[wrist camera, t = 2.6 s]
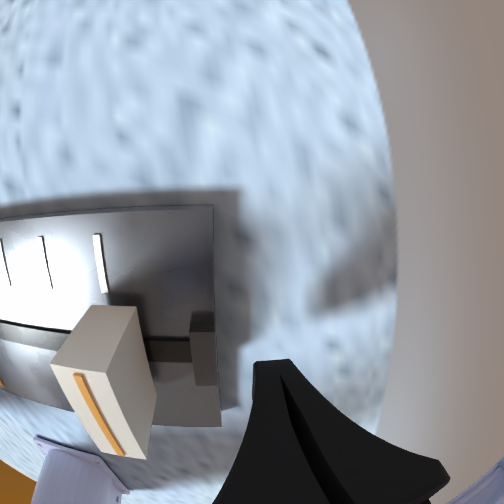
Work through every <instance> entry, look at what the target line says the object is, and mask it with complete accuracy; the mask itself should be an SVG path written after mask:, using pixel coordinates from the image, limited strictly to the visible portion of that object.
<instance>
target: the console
mask: <svg viewBox="0 0 504 504" xmlns="http://www.w3.org/2000/svg"><path fill="white" fill-rule="evenodd" d="M91 305H108V306H134V307H136V308H137V313H138V318H139V324H140V329H141V334H142V338H143V343H144V347H145V352H146V356H147V360H148V364H149V368H150V372H151V376H152V380H153V383H154V387H155V390H156V394H157V398H156V404H155V409H154V415H153V421H152V425H164V426H184V427H222V422H221V408H220V395H219V380H218V365H217V347H216V327H215V302H214V267H213V205H171V206H142V207H121V208H104V209H89V210H76V211H64V212H53V213H43V214H33V215H24V216H16V217H8V218H0V389H3V390H5V391H8V392H10V393H13V394H16V395H18V396H21V397H24V398H27V399H30V400H33V401H36V402H39V403H42V404H46V405H49V406H52V407H56V408H60V409H63V410H67V411H71V412H75V411H74V410H73V408H72V406H71V405H70V403H69V401H68V399H67V397H66V396H65V394H64V392H63V390H62V388H61V386H60V384H59V382H58V380H57V378H56V376H55V374H54V372H53V370H52V368H51V365H50V362H51V361H52V359H53V358H54V356H55V355H56V353H57V352H58V350H59V349H60V347H61V346H62V345H63V343H64V342H65V340H66V339H67V337H68V336H69V335H70V333H71V332H72V330H73V329H74V328H75V326H76V325H77V323H78V322H79V321H80V319H81V318H82V317H83V315H84V314H85V313H86V311H87V310H88V309H89V307H90V306H91Z"/></svg>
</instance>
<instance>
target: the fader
mask: <svg viewBox="0 0 504 504" xmlns="http://www.w3.org/2000/svg"><path fill="white" fill-rule="evenodd" d="M50 365H51V368H52V370H53V372H54V374H55V376H56V378H57V380H58V382H59V384H60V386H61V388H62V390H63V392H64V394H65V396H66V397H67V399H68V401H69V403H70V405H71V406H72V408H73V410H74V411H75V413H76V415H77V416H78V418H79V420H80V421H81V423H82V425H83V426H84V428H85V429H86V431H87V432H88V434H89V435H90V437H91V438H92V440H93V441H94V442H95V444H96V445H97V447H98V448H99V449H100V451H101V452H104V453H109V454H114V455H119V456H125V457H131V458H138V459H146V460H147V454H148V447H149V440H150V433H151V427H152V421H153V415H154V409H155V404H156V398H157V394H156V390H155V387H154V383H153V380H152V376H151V372H150V368H149V364H148V360H147V356H146V352H145V347H144V343H143V338H142V334H141V329H140V324H139V318H138V313H137V308H136V307H134V306H108V305H91V306H90V307H89V309H88V310H87V311H86V313H85V314H84V315H83V317H82V318H81V319H80V321H79V322H78V323H77V325H76V326H75V328H74V329H73V330H72V332H71V333H70V335H69V336H68V337H67V339H66V340H65V342H64V343H63V345H62V346H61V347H60V349H59V350H58V352H57V353H56V355H55V356H54V358H53V359H52V361H51V362H50Z"/></svg>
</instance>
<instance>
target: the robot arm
mask: <svg viewBox="0 0 504 504" xmlns="http://www.w3.org/2000/svg"><path fill="white" fill-rule="evenodd" d="M252 400H253V404H252V409H251V413H250V417H249V421H248V425H247V429H246V432H245V435H244V438H243V441H242V444H241V447H240V449H239V452H238V454H237V457H236V459H235V462H234V464H233V466H232V468H231V471H230V473H229V475H228V476H227V478H226V480H225V482H224V484H223V486H222V488H221V490H220V492H219V493H218V495H217V497H216V498H215V500H214V502H213V503H212V504H431V503H430V501H429V498H430V497H431V496H433V495H434V494H435V493H437V492H438V491H439V490H440V489H442V488H443V487H444V486H445V485H446V484H447V483H448V482H449V480H450V476H449V475H448V473H447V472H446V470H445V468H444V467H443V466H442V464H441V463H440V461H439V460H436V459H432V458H429V457H425V456H422V455H418V454H415V453H412V452H409V451H407V450H404V449H402V448H399V447H397V446H394V445H392V444H390V443H388V442H386V441H385V440H383V439H381V438H379V437H377V436H375V435H373V434H371V433H370V432H368V431H367V430H365V429H363V428H362V427H360V426H359V425H357V424H356V423H355V422H353V421H352V420H350V419H349V418H348V417H346V416H345V415H344V414H343V413H341V412H340V411H339V410H338V409H337V408H336V407H334V406H333V405H332V404H331V403H330V402H329V401H328V400H327V399H326V398H325V397H324V396H323V395H322V394H321V393H320V392H319V391H318V390H317V389H316V388H315V387H314V386H313V385H312V384H311V383H310V382H309V381H308V380H307V379H306V378H305V377H304V375H303V374H302V373H301V372H300V371H299V370H298V368H297V367H296V366H295V365H294V363H293V362H292V361H291V360H290V359H282V360H269V361H256V362H255V363H254V364H253V384H252ZM33 440H34V441H35V443H36V444H37V445H38V446H39V447H40V448H41V449H42V451H43V452H44V453H45V454H46V458H45V461H44V463H43V466H42V469H41V472H40V475H39V478H38V481H37V485H36V488H35V491H34V495H33V498H32V502H31V504H121V497H122V494H127V495H129V494H130V491H129V490H128V489H127V488H126V487H125V486H124V485H123V484H122V482H121V481H120V480H119V479H118V478H117V477H116V476H115V474H114V473H113V472H112V471H111V470H110V469H109V467H108V466H107V465H106V464H105V462H104V461H103V460H102V459H101V458H100V457H99V456H97V455H93V454H89V453H85V452H81V451H78V450H74V449H71V448H67V447H64V446H61V445H58V444H55V443H52V442H49V441H46V440H43V439H41V438H38V437H34V438H33ZM446 504H504V456H503V457H502V458H501V459H500V460H499V461H498V462H497V463H496V464H495V465H494V466H493V467H492V468H491V469H490V470H489V471H488V472H486V473H485V474H484V475H483V476H482V477H481V478H480V479H478V480H477V481H476V482H475V483H473V484H472V485H471V486H469V487H468V488H467V489H466V490H464V491H463V492H462V493H460V494H459V495H458V496H456V497H455V498H454V499H452V500H451V501H449V502H448V503H446Z"/></svg>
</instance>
